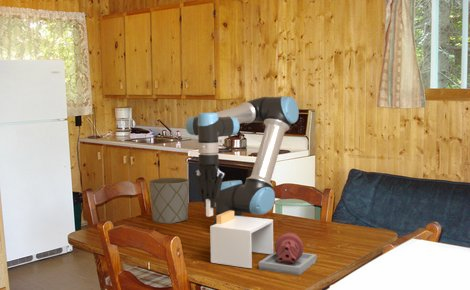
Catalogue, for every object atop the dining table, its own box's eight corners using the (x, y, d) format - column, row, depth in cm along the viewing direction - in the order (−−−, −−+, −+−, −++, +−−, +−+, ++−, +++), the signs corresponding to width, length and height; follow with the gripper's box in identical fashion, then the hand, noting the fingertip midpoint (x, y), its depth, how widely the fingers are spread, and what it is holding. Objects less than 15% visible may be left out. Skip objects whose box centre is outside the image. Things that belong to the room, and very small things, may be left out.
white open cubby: (210, 262, 194) (210, 218, 192) (235, 249, 210) (235, 208, 209) (250, 268, 186) (250, 222, 185) (273, 253, 203) (272, 211, 202)
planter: (169, 215, 276) (168, 176, 275) (197, 219, 265) (196, 179, 263) (142, 222, 261) (141, 181, 259) (171, 227, 250) (170, 184, 248)
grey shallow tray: (258, 269, 186) (258, 262, 186) (278, 256, 201) (278, 249, 201) (299, 275, 179) (299, 267, 179) (316, 261, 194) (316, 254, 194)
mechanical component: (301, 270, 183) (301, 242, 181) (272, 269, 185) (271, 241, 183) (304, 256, 195) (304, 230, 193) (277, 255, 197) (276, 229, 195)
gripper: (188, 154, 201) (189, 216, 203) (218, 155, 195) (219, 219, 197) (199, 152, 208) (200, 212, 210) (228, 153, 202) (229, 215, 204)
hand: (209, 215), depth 203 cm, fingers closed
